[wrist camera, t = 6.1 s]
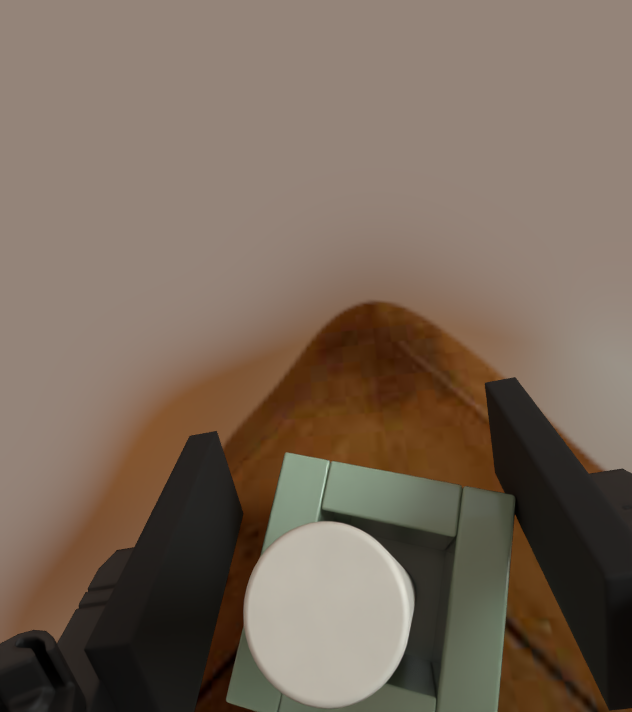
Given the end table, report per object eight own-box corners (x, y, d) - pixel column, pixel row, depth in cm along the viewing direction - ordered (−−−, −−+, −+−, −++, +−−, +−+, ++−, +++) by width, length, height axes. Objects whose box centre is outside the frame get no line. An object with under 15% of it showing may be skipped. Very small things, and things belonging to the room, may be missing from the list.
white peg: (420, 569, 18) (422, 539, 6) (411, 629, 17) (394, 734, 5) (365, 557, 18) (264, 505, 6) (355, 615, 17) (220, 682, 6)
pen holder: (485, 523, 18) (517, 494, 12) (465, 713, 16) (491, 787, 10) (324, 491, 20) (284, 451, 14) (289, 663, 18) (223, 702, 12)
